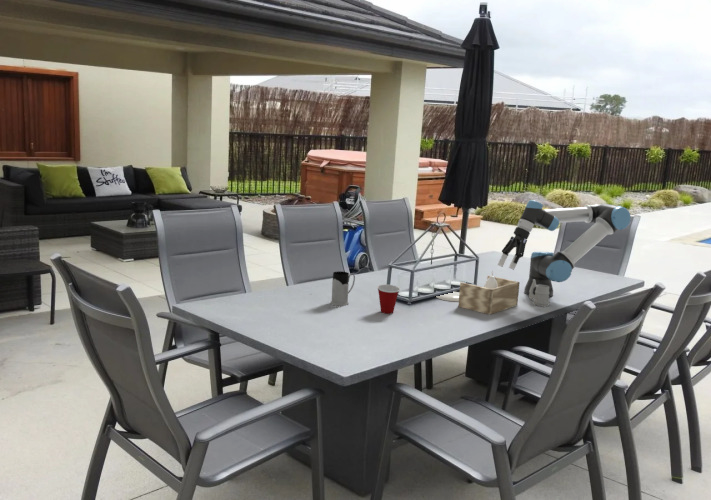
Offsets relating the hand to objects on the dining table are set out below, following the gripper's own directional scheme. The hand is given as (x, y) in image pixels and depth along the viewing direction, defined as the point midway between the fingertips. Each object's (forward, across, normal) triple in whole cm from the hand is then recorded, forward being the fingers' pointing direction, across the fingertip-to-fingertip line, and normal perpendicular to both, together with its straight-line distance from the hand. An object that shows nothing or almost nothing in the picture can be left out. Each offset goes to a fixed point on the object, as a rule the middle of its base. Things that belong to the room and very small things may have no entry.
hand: (505, 267), depth 324 cm
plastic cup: (+45, +15, -51) cm, 69 cm away
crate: (+21, +6, -2) cm, 22 cm away
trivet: (+25, -12, -14) cm, 31 cm away
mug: (+10, +2, +24) cm, 26 cm away
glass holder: (+50, -2, -68) cm, 84 cm away
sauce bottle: (+22, +6, -2) cm, 22 cm away
